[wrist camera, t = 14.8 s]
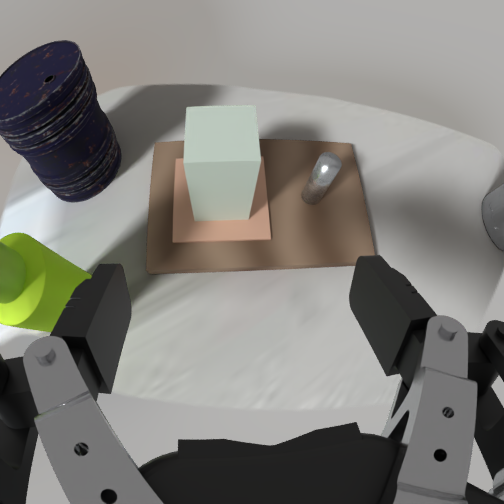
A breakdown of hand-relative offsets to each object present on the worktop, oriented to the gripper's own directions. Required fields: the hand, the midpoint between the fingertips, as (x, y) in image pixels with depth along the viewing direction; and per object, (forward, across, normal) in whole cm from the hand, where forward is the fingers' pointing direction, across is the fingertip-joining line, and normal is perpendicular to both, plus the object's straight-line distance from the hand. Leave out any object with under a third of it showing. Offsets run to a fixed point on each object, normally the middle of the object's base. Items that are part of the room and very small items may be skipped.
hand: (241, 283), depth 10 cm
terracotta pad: (+20, 0, +4) cm, 21 cm away
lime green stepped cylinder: (+14, +14, +12) cm, 24 cm away
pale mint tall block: (+20, 0, +4) cm, 21 cm away
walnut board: (+22, -4, +5) cm, 22 cm away
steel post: (+21, -8, +4) cm, 23 cm away
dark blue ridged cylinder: (+26, +16, +1) cm, 31 cm away
